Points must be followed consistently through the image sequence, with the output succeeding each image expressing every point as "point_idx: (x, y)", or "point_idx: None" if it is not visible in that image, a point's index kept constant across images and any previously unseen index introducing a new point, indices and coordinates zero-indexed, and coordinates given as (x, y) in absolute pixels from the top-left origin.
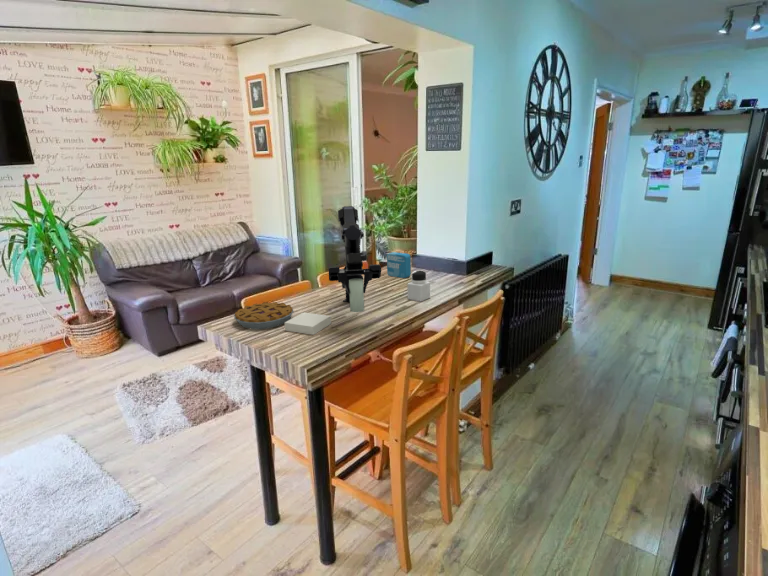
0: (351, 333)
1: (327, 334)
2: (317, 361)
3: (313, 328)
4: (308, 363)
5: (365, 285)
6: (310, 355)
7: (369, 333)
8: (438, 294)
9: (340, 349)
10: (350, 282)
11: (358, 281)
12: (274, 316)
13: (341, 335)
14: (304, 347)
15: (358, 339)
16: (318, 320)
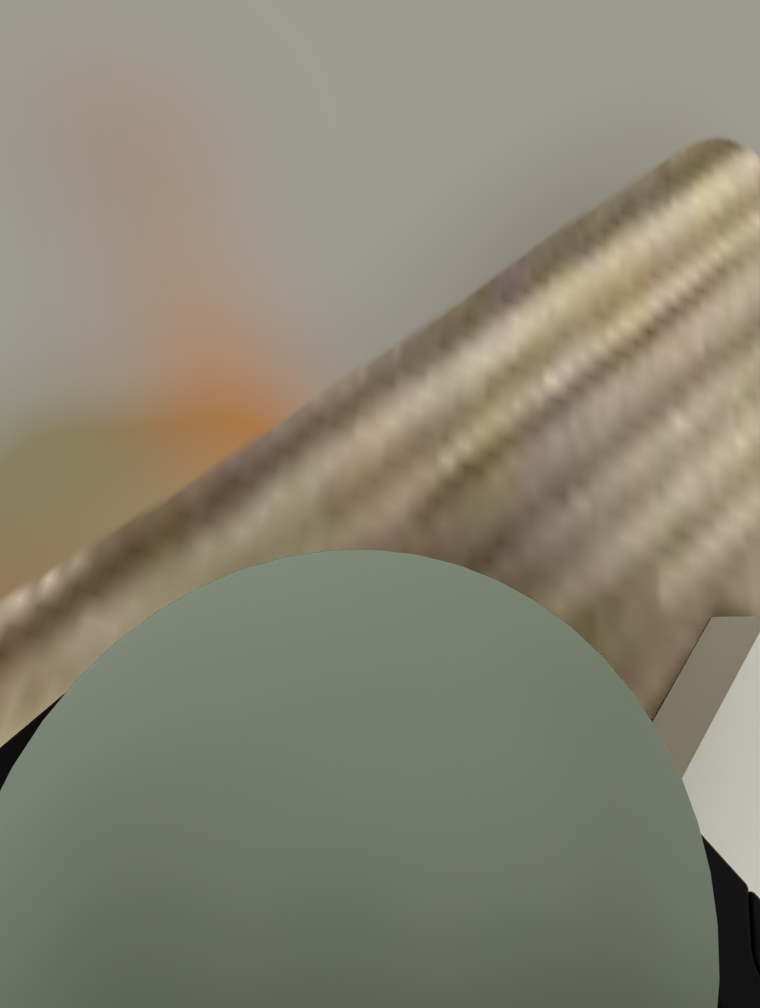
0: None
1: (601, 594)
2: (662, 175)
3: (749, 623)
4: (710, 169)
5: (20, 753)
6: (707, 264)
7: (255, 509)
8: None
9: (519, 287)
10: (625, 710)
11: (288, 604)
12: None
13: (491, 537)
14: (755, 396)
15: (370, 414)
16: (728, 793)
